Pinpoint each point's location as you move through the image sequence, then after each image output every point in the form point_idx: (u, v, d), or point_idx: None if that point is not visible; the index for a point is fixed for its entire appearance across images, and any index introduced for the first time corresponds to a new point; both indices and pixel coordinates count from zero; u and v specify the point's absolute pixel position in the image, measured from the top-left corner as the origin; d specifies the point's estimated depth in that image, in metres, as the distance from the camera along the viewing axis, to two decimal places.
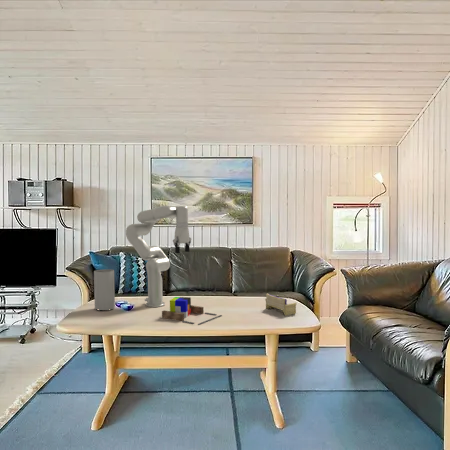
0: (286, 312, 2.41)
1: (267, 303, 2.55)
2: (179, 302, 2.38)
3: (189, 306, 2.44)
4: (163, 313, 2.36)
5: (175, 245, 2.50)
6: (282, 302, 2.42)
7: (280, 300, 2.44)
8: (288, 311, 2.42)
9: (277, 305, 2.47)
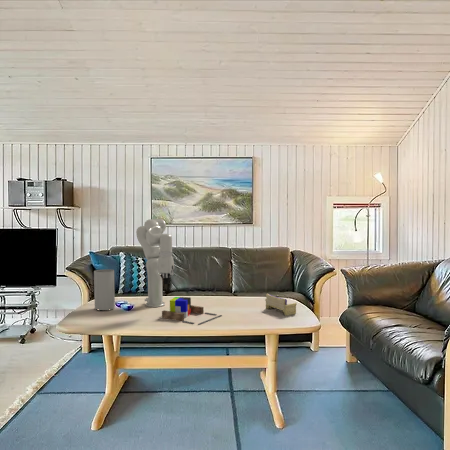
0: (286, 312, 2.40)
1: (267, 303, 2.55)
2: (179, 302, 2.38)
3: (189, 306, 2.44)
4: (163, 313, 2.36)
5: (169, 276, 2.47)
6: (282, 302, 2.42)
7: (280, 300, 2.43)
8: (288, 311, 2.41)
9: (277, 305, 2.46)
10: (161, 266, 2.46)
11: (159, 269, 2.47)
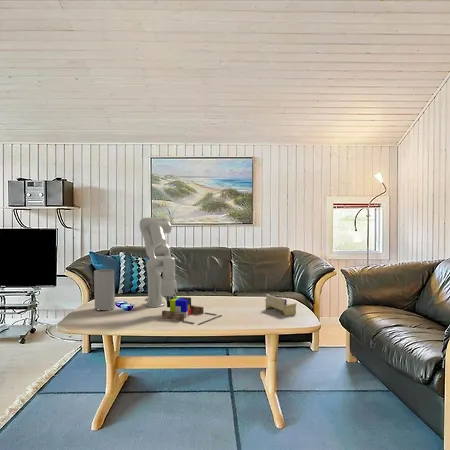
0: (286, 312, 2.40)
1: (267, 303, 2.54)
2: (179, 302, 2.37)
3: (189, 306, 2.44)
4: (163, 313, 2.36)
5: None
6: (282, 302, 2.41)
7: (280, 300, 2.43)
8: (288, 311, 2.41)
9: (277, 305, 2.46)
10: (164, 289, 2.46)
11: (162, 292, 2.47)
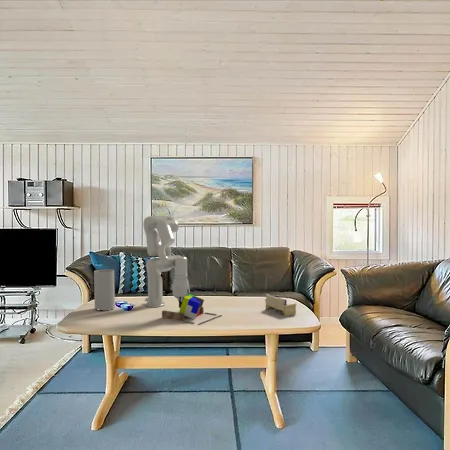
0: (286, 313, 2.39)
1: (267, 303, 2.54)
2: (192, 302, 2.33)
3: (200, 308, 2.40)
4: (163, 313, 2.36)
5: None
6: (282, 303, 2.41)
7: (280, 301, 2.42)
8: (288, 312, 2.40)
9: (277, 306, 2.45)
10: (176, 289, 2.40)
11: (174, 292, 2.41)
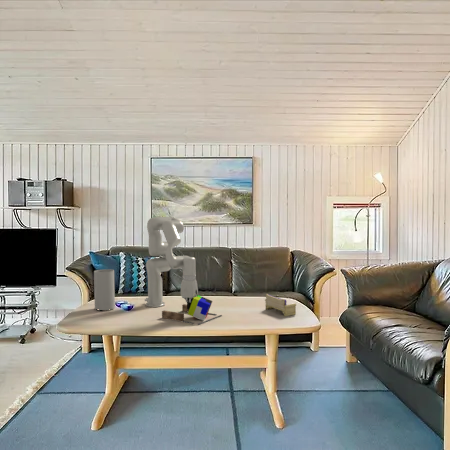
0: (286, 313, 2.39)
1: (267, 304, 2.54)
2: (202, 303, 2.30)
3: (208, 309, 2.37)
4: (163, 313, 2.36)
5: None
6: (282, 303, 2.40)
7: (280, 301, 2.42)
8: (288, 312, 2.40)
9: (277, 306, 2.45)
10: (184, 290, 2.37)
11: (182, 293, 2.38)
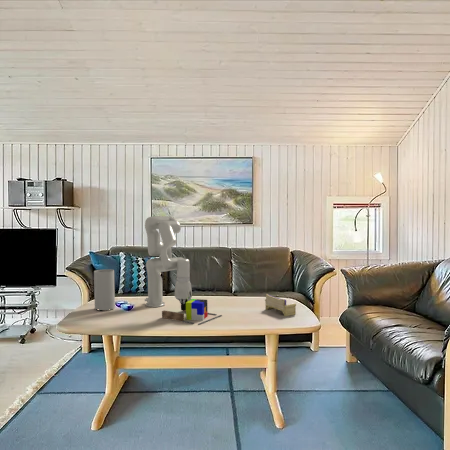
0: (286, 313, 2.39)
1: (267, 304, 2.53)
2: (195, 304, 2.31)
3: (206, 308, 2.37)
4: (163, 313, 2.36)
5: None
6: (282, 303, 2.40)
7: (280, 301, 2.42)
8: (288, 312, 2.39)
9: (276, 306, 2.45)
10: (178, 292, 2.40)
11: (176, 295, 2.41)
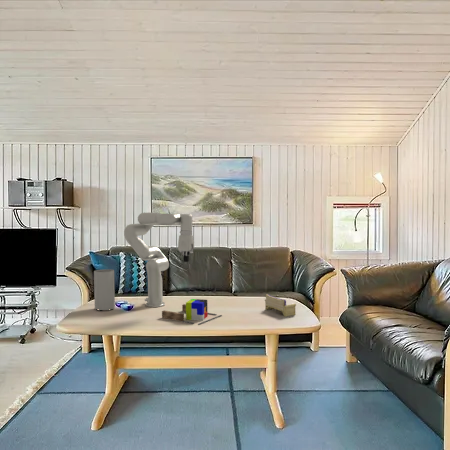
0: (285, 313, 2.38)
1: (267, 304, 2.53)
2: (195, 304, 2.31)
3: (206, 308, 2.37)
4: (163, 313, 2.36)
5: (188, 254, 2.57)
6: (281, 303, 2.40)
7: (279, 301, 2.41)
8: (287, 312, 2.39)
9: (276, 306, 2.44)
10: (181, 244, 2.56)
11: (179, 247, 2.57)
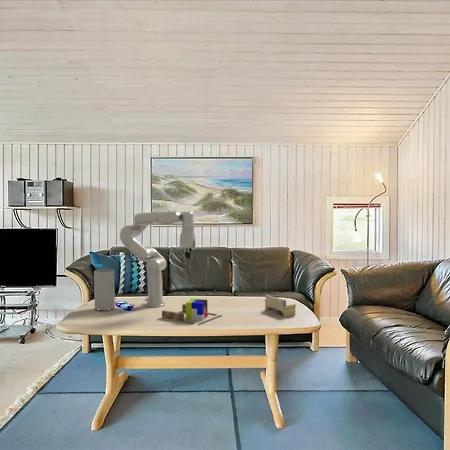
0: (285, 313, 2.38)
1: (266, 304, 2.53)
2: (195, 304, 2.31)
3: (206, 308, 2.37)
4: (163, 313, 2.36)
5: (190, 251, 2.62)
6: (281, 303, 2.39)
7: (279, 301, 2.41)
8: (287, 312, 2.38)
9: (276, 306, 2.44)
10: (183, 241, 2.62)
11: (181, 244, 2.63)
